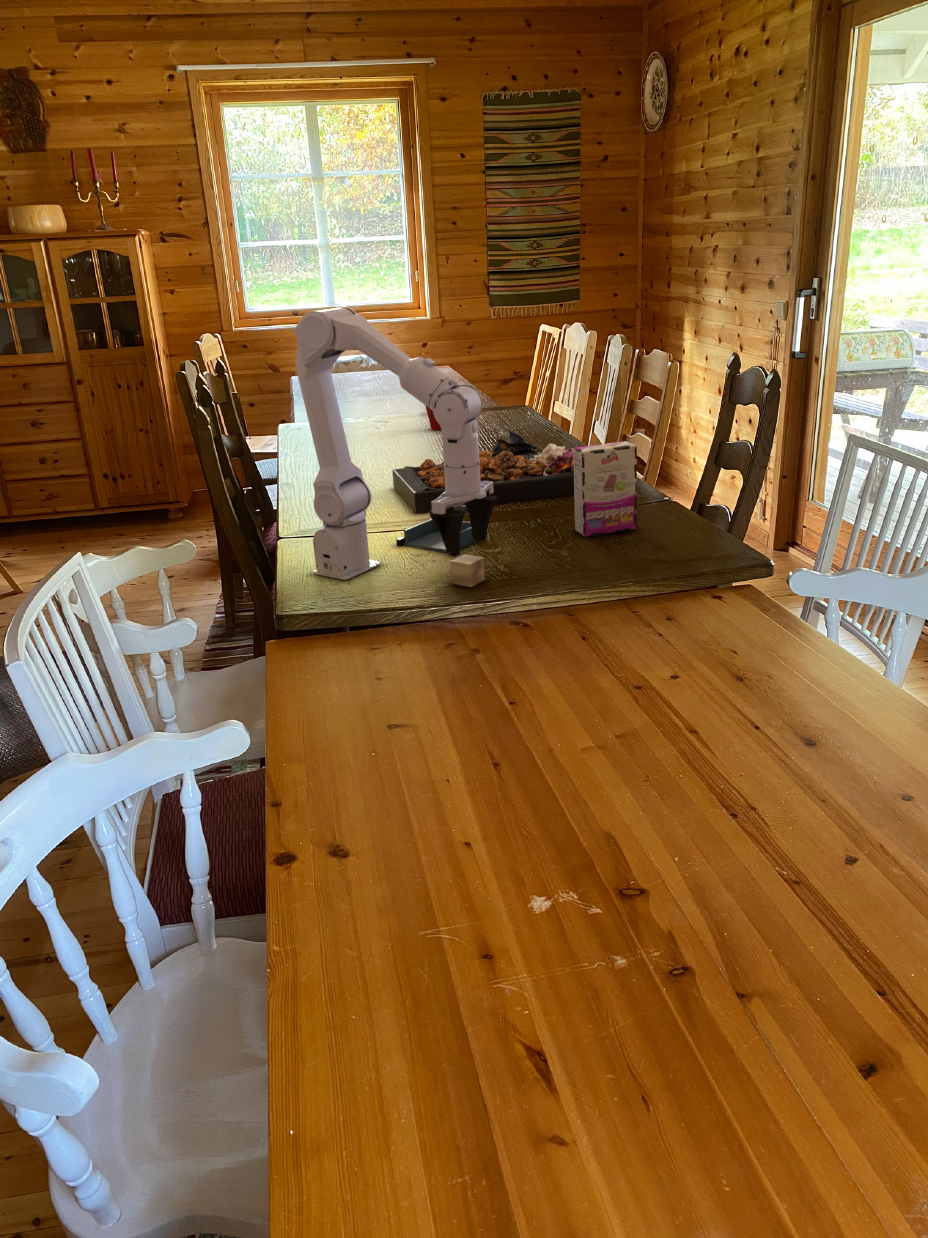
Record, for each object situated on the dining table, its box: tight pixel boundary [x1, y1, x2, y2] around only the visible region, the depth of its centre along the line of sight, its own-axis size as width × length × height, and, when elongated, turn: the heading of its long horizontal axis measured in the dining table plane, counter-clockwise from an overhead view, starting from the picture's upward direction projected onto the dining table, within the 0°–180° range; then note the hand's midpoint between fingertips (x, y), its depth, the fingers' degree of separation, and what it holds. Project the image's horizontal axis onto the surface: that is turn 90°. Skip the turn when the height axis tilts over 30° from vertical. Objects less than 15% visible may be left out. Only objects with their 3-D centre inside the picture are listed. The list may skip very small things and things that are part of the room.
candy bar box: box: [573, 440, 638, 538], centre depth 173 cm, size 11×5×16 cm, turn 106°
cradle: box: [395, 536, 461, 557], centre depth 171 cm, size 2×14×1 cm, turn 54°
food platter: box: [391, 443, 578, 515], centre depth 209 cm, size 45×25×10 cm, turn 105°
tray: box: [403, 505, 480, 554], centre depth 174 cm, size 10×11×6 cm
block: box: [449, 553, 486, 588], centre depth 153 cm, size 4×4×4 cm
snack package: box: [490, 430, 537, 456], centre depth 246 cm, size 12×6×12 cm
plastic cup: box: [424, 405, 441, 431], centre depth 283 cm, size 11×11×12 cm
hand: (466, 545), depth 151 cm, fingers open, 7 cm apart
